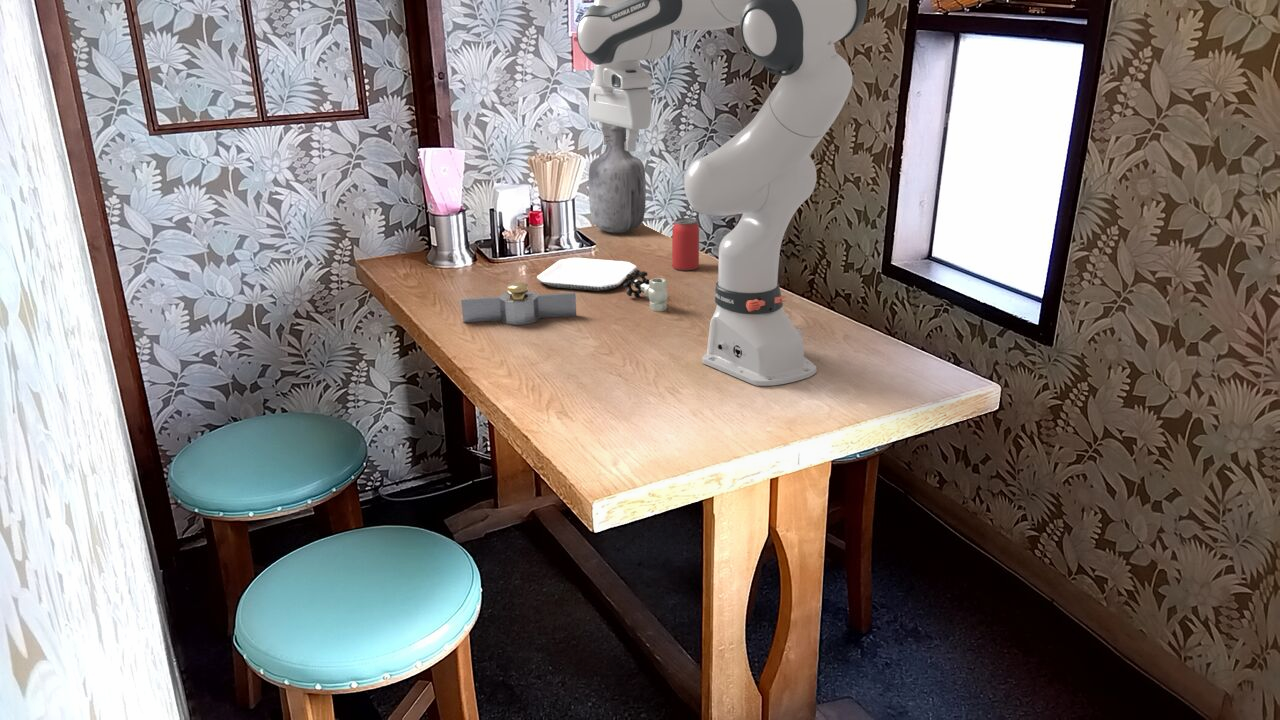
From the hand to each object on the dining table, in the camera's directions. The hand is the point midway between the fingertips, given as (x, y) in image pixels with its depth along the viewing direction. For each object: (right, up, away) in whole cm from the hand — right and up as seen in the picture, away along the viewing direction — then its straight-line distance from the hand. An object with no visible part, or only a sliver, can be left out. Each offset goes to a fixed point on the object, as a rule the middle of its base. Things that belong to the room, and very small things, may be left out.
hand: (619, 148), depth 190 cm
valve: (+6, -30, +22) cm, 38 cm away
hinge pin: (-22, -33, +14) cm, 42 cm away
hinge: (-21, -33, +14) cm, 42 cm away
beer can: (+15, -19, +48) cm, 54 cm away
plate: (-8, -23, +40) cm, 47 cm away
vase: (-2, -6, +82) cm, 83 cm away
